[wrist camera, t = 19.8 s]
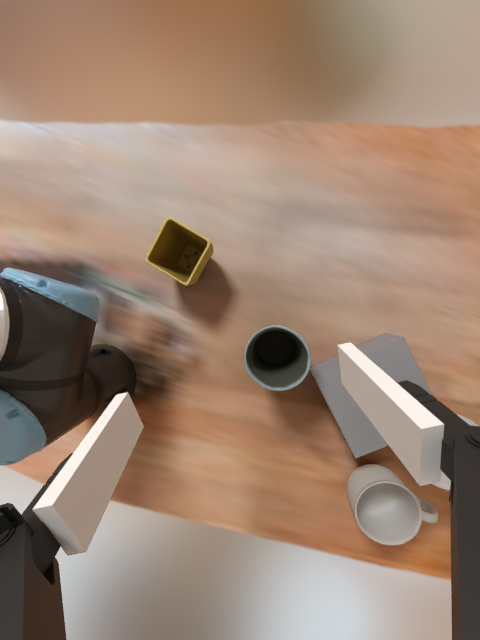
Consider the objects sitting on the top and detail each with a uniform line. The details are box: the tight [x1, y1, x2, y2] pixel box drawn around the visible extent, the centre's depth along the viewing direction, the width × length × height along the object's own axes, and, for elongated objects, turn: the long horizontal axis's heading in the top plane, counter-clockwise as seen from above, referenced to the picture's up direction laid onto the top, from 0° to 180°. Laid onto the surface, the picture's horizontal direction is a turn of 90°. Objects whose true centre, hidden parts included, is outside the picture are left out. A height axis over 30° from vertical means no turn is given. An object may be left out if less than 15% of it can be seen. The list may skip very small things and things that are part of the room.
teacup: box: [347, 464, 438, 546], centre depth 44 cm, size 14×11×8 cm
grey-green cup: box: [244, 325, 311, 391], centre depth 42 cm, size 10×10×12 cm
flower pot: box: [145, 217, 213, 286], centre depth 45 cm, size 9×9×9 cm
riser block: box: [309, 333, 433, 458], centre depth 44 cm, size 16×16×6 cm
